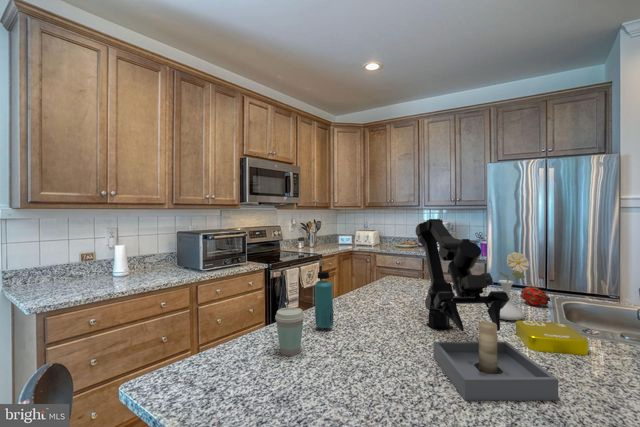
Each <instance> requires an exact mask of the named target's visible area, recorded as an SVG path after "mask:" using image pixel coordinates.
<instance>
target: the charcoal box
mask: <svg viewBox="0 0 640 427" xmlns="http://www.w3.org/2000/svg"><path fill="white" fill-rule="evenodd" d="M433 359H434V360H435V361H436V363H437V365H438V366H439V368H441V370H442V371H443V373H444V374H445V376H446V377H447V379H448V380H449V381H450V382H451V384H452V385H453V387H454V388H455V389H456V391H457V392H458V393H459V395H460V396H461V397H462V398H463V400H464V401H559V379H558V378H557V377H556V376H554V375H553V374H552V373H550V372H549V371H548V370H546V369H545V368H543V367H542V366H541V365H540V364H538V363H537V362H535V361H534V360H532V359H531V358H530V357H529V356H527V355H526V354H524V353H523V352H521V350H520V349H517V348H516V347H514V346H513V345H512V344H510V342H508V341H497V374H485V373H482V372H480V371H479V341H433Z"/></svg>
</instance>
